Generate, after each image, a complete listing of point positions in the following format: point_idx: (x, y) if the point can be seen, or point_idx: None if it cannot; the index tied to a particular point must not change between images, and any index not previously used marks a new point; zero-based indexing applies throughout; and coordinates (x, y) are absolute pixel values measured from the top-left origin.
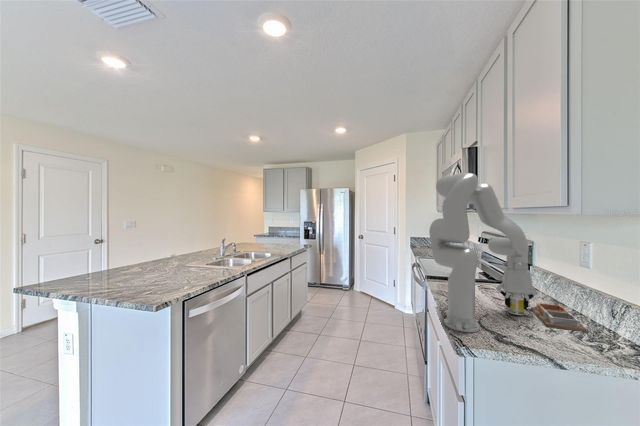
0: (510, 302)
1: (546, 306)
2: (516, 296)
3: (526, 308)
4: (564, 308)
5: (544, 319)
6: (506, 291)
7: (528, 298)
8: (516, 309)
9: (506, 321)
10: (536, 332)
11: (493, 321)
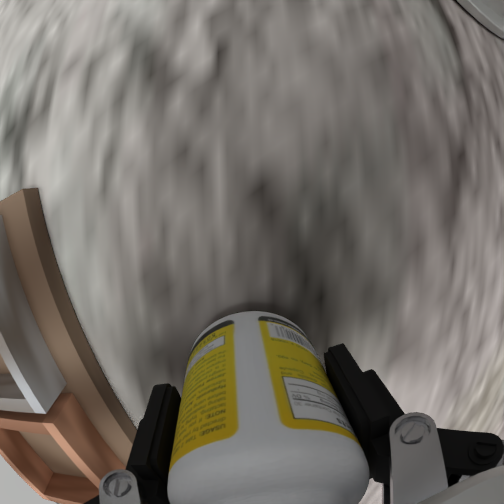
0: (334, 399)
1: (91, 495)
2: (275, 493)
3: (154, 393)
4: (9, 464)
5: (40, 298)
6: (495, 469)
7: (112, 497)
8: (252, 336)
9: (321, 110)
10: (109, 16)
11: (399, 66)
